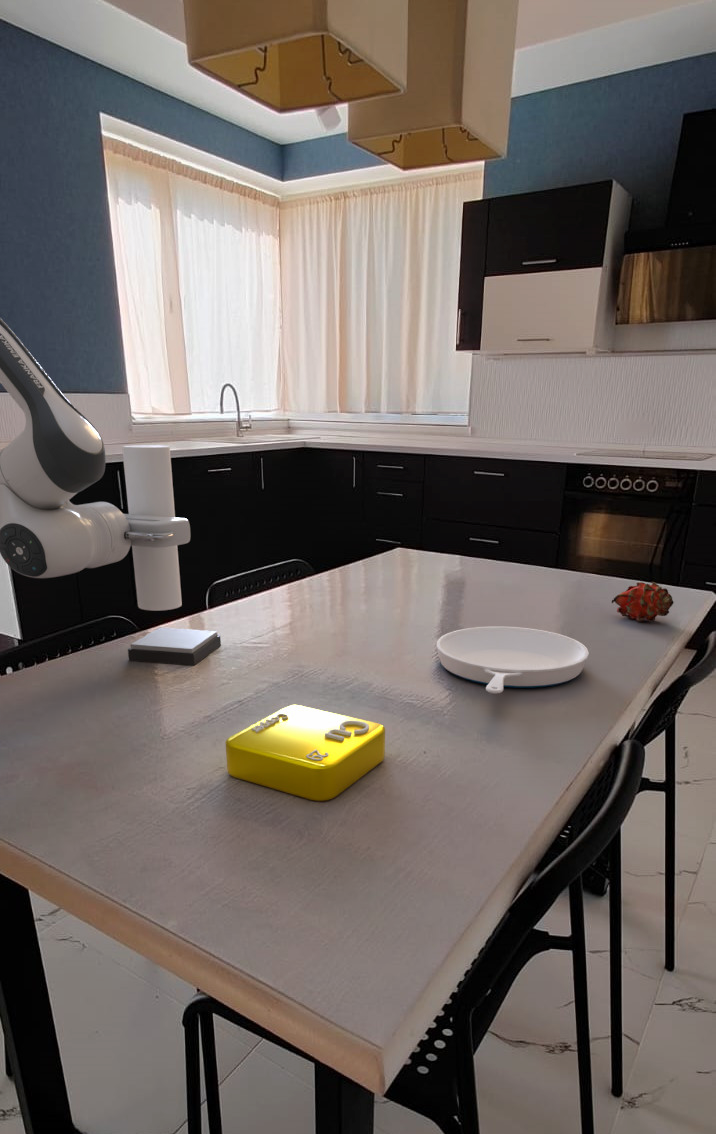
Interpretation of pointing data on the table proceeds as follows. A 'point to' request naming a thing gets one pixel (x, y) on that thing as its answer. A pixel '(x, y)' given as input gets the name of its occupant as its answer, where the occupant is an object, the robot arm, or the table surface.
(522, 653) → the pan
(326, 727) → the element tile
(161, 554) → the cylindrical container
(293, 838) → the table surface
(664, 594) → the dragon fruit
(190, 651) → the scale
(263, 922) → the table surface
